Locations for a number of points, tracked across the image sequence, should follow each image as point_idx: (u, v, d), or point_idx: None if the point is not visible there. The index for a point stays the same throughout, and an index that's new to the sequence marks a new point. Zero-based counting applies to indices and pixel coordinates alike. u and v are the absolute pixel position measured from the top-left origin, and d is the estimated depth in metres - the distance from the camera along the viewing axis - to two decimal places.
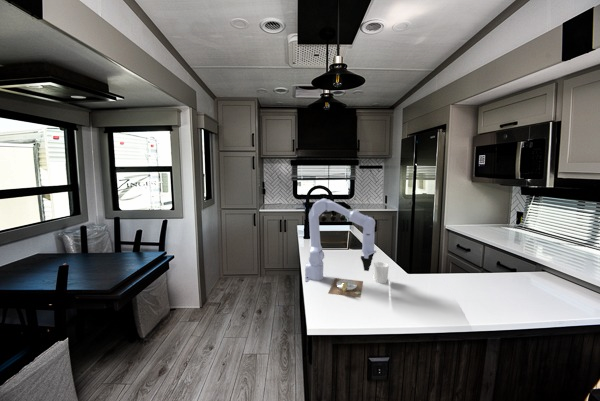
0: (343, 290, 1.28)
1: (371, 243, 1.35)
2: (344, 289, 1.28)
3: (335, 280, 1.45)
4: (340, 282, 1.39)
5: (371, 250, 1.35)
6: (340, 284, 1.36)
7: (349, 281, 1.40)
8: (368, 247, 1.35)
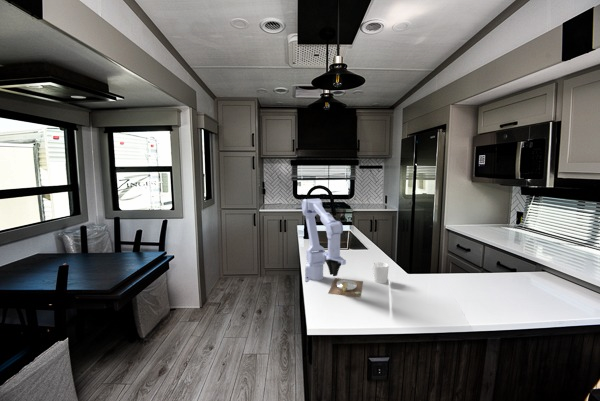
0: (343, 290, 1.28)
1: None
2: (344, 289, 1.28)
3: (335, 280, 1.45)
4: (340, 282, 1.39)
5: None
6: (340, 284, 1.36)
7: (349, 281, 1.40)
8: None
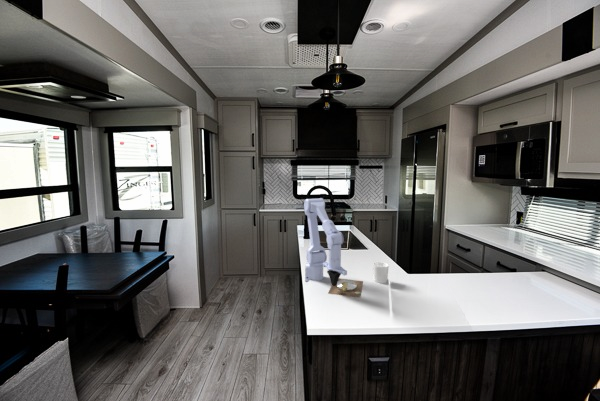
0: (343, 290, 1.28)
1: None
2: (344, 289, 1.28)
3: None
4: (340, 282, 1.39)
5: None
6: (340, 284, 1.36)
7: (349, 281, 1.40)
8: None
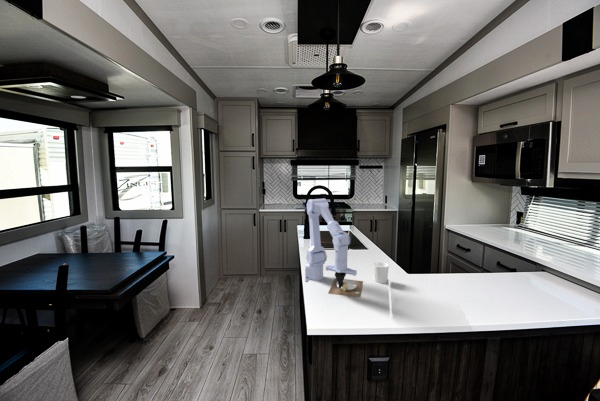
0: (343, 290, 1.28)
1: (335, 259, 1.27)
2: (344, 289, 1.28)
3: (335, 280, 1.45)
4: None
5: (335, 267, 1.28)
6: None
7: (349, 281, 1.40)
8: None
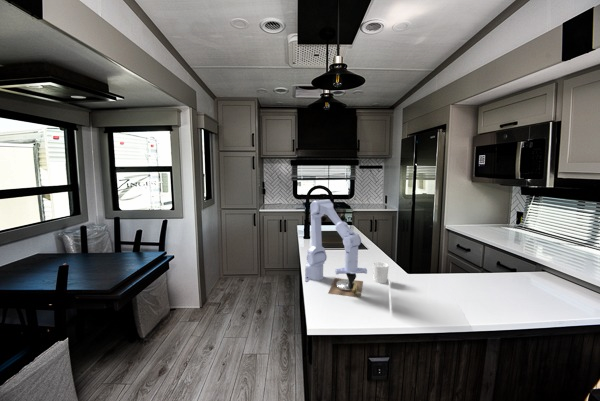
0: (354, 290, 1.28)
1: (347, 261, 1.25)
2: (355, 289, 1.28)
3: (335, 280, 1.45)
4: (340, 283, 1.37)
5: (347, 269, 1.25)
6: (342, 285, 1.35)
7: (345, 281, 1.40)
8: (345, 265, 1.26)
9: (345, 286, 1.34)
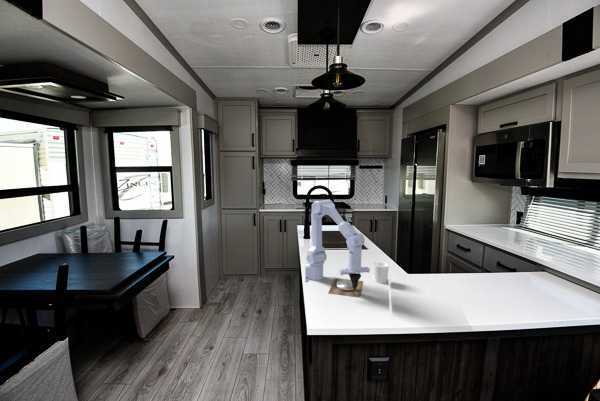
0: (359, 289, 1.28)
1: (352, 261, 1.25)
2: (360, 288, 1.29)
3: (335, 280, 1.45)
4: (340, 284, 1.36)
5: (352, 269, 1.25)
6: (343, 286, 1.34)
7: (344, 281, 1.40)
8: (349, 265, 1.26)
9: (347, 286, 1.34)
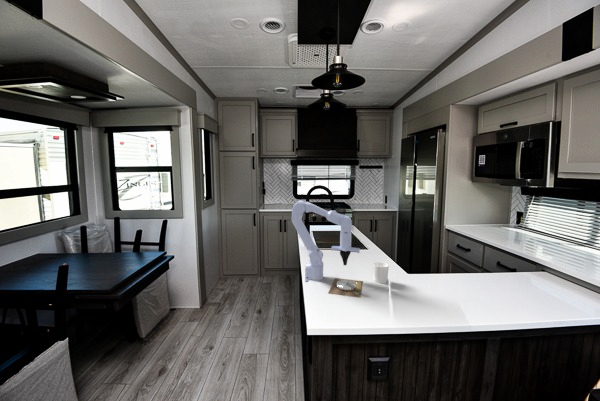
0: (359, 289, 1.28)
1: (340, 240, 1.43)
2: (360, 288, 1.29)
3: (335, 280, 1.45)
4: (340, 284, 1.36)
5: (341, 247, 1.43)
6: (344, 286, 1.34)
7: (344, 281, 1.40)
8: (340, 243, 1.44)
9: (347, 286, 1.34)
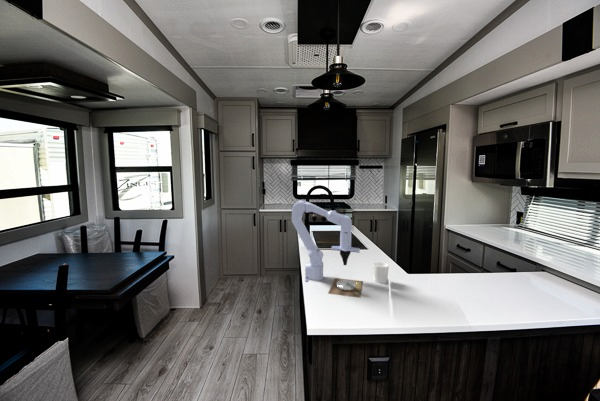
0: (359, 289, 1.28)
1: (340, 240, 1.43)
2: (360, 288, 1.29)
3: (335, 280, 1.45)
4: (340, 284, 1.36)
5: (341, 247, 1.43)
6: (344, 286, 1.34)
7: (344, 281, 1.40)
8: (340, 243, 1.44)
9: (347, 286, 1.34)
